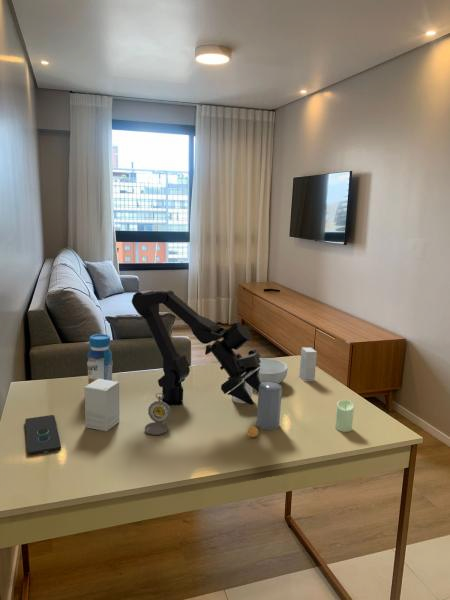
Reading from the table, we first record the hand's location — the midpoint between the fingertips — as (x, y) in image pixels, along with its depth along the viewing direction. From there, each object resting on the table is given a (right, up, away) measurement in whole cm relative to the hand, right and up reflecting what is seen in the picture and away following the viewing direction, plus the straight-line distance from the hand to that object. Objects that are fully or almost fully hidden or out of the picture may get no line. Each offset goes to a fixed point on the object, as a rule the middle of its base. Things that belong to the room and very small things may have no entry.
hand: (257, 398), depth 138 cm
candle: (+26, -9, 0) cm, 28 cm away
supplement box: (-46, -7, -5) cm, 47 cm away
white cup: (-4, -4, +18) cm, 19 cm away
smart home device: (-61, -8, -12) cm, 63 cm away
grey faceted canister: (+3, -8, 0) cm, 8 cm away
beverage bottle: (-53, -2, +18) cm, 56 cm away
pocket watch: (-30, -8, -6) cm, 31 cm away
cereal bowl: (+5, -2, +34) cm, 35 cm away
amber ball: (-2, -9, -8) cm, 12 cm away
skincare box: (+22, -1, +40) cm, 46 cm away
